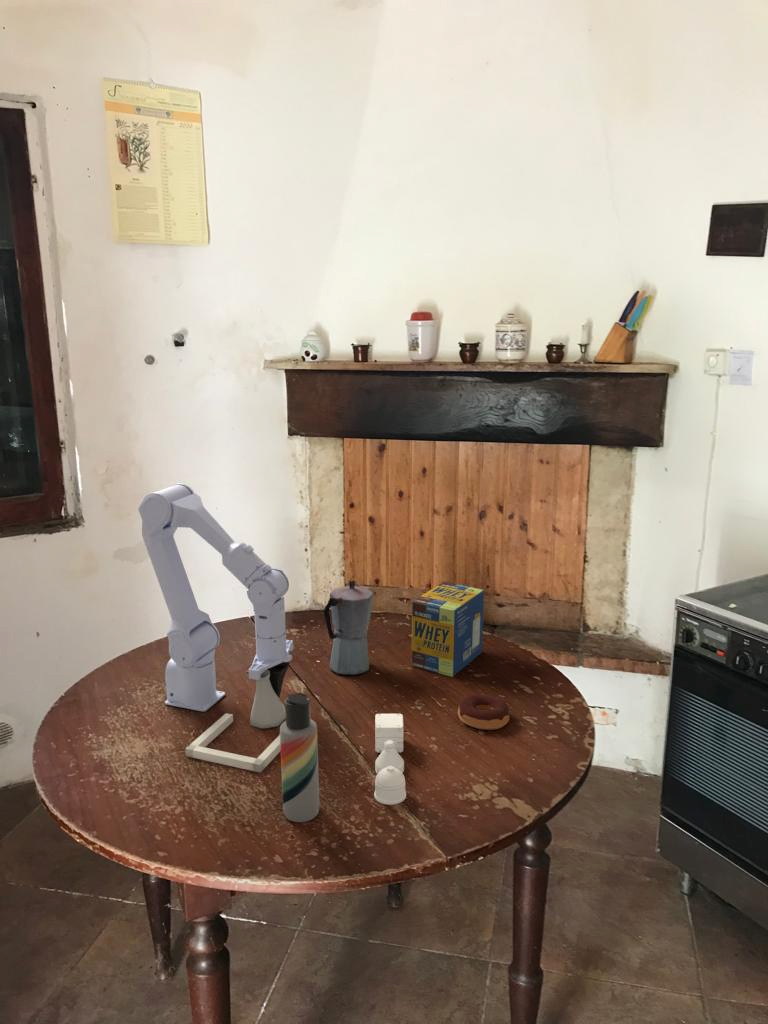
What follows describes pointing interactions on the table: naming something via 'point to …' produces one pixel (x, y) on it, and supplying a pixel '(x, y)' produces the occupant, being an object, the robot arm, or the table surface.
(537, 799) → the table surface
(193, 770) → the table surface
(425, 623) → the protein box
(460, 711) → the donut
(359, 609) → the moka pot
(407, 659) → the table surface
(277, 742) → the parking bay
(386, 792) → the container set
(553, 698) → the table surface
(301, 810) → the lotion bottle
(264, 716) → the flask
